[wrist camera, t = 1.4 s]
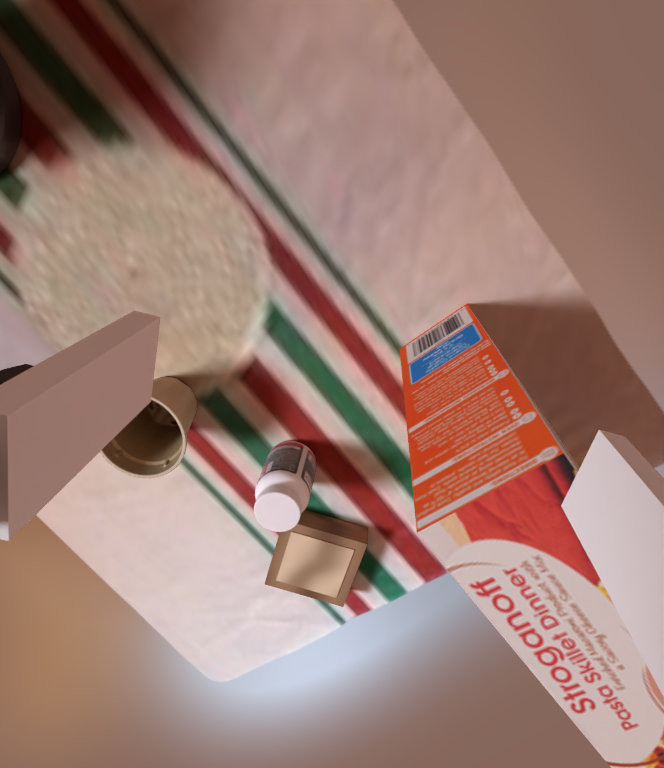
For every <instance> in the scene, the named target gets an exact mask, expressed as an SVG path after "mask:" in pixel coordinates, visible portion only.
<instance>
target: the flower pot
mask: <svg viewBox="0 0 664 768" xmlns="http://www.w3.org/2000/svg"><path fill="white" fill-rule="evenodd" d="M151 402H152V406H153V410H152V409H151V407H150V406H149V404H148V405H147V406H146V407H145V408H144V409H143V410H142V411H141V412H140V413H139V414H138V415H137V416H136V417H135V418H134V419H133V420H132V421H130V422H129V423H128V424H127V425H126V426H125V427H124V428H123V429H122V430H121V431H120V432H119V433H118V434H117V435H116V436H115V437H114V438H113V439H112V440H111V441H110V442H109V443H108V444H107V445H106V446H105V447H104V448H103V449H102V450H101V451H100V453H101V454H102V456H103V457H104V458H105V459H106V460H107V461H108V462H109V463H110V464H111V465H112V466H114V467H115V468H117V469H118V470H120V471H121V472H123V473H126V474H128V475H130V476H134V477H138V478H154V477H159V476H163V475H165V474H167V473H169V472H171V471H172V470H174V469H175V468H176V467H177V466H178V465H179V463H180V462H181V461H182V459H183V457H184V454H185V451H186V446H187V438H186V436H187V433H188V431H189V428H190V426H191V424H192V421H193V419H194V418H195V415H196V412H197V400H196V397H195V395H194V393H193V391H192V390H191V389H190V387H188V386H187V385H185V384H184V383H182V382H181V381H179V380H178V379H176V378H171V377H161V378H157V379H155V380H153V388H152V397H151ZM171 421H177V423H178V424H173V423H171Z"/></svg>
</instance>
